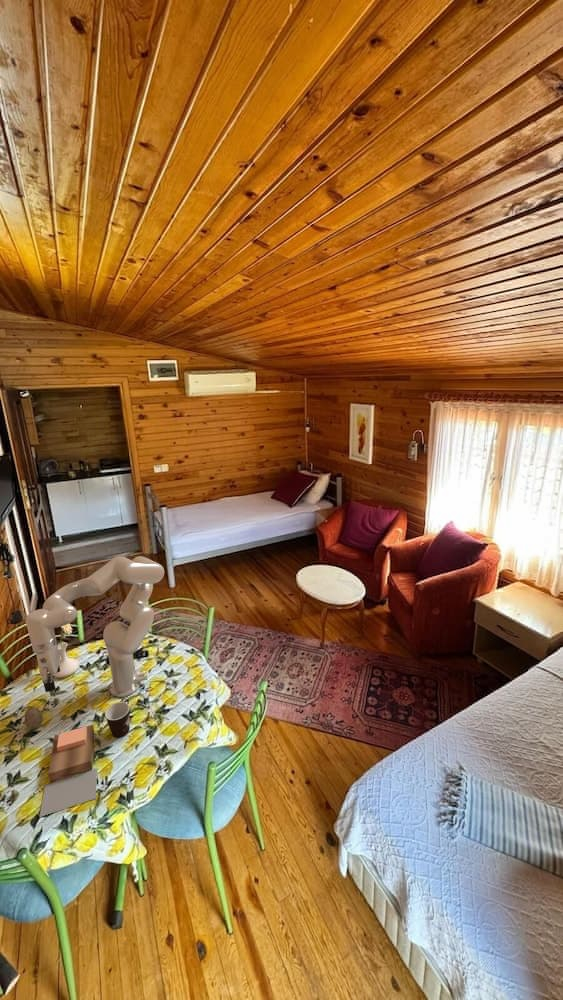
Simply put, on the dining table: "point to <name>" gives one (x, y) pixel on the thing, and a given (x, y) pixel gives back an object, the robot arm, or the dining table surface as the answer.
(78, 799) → the mat
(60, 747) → the salmon orange flat block
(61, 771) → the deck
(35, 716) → the decorative egg
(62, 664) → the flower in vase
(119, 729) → the coffee mug
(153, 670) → the dining table surface
